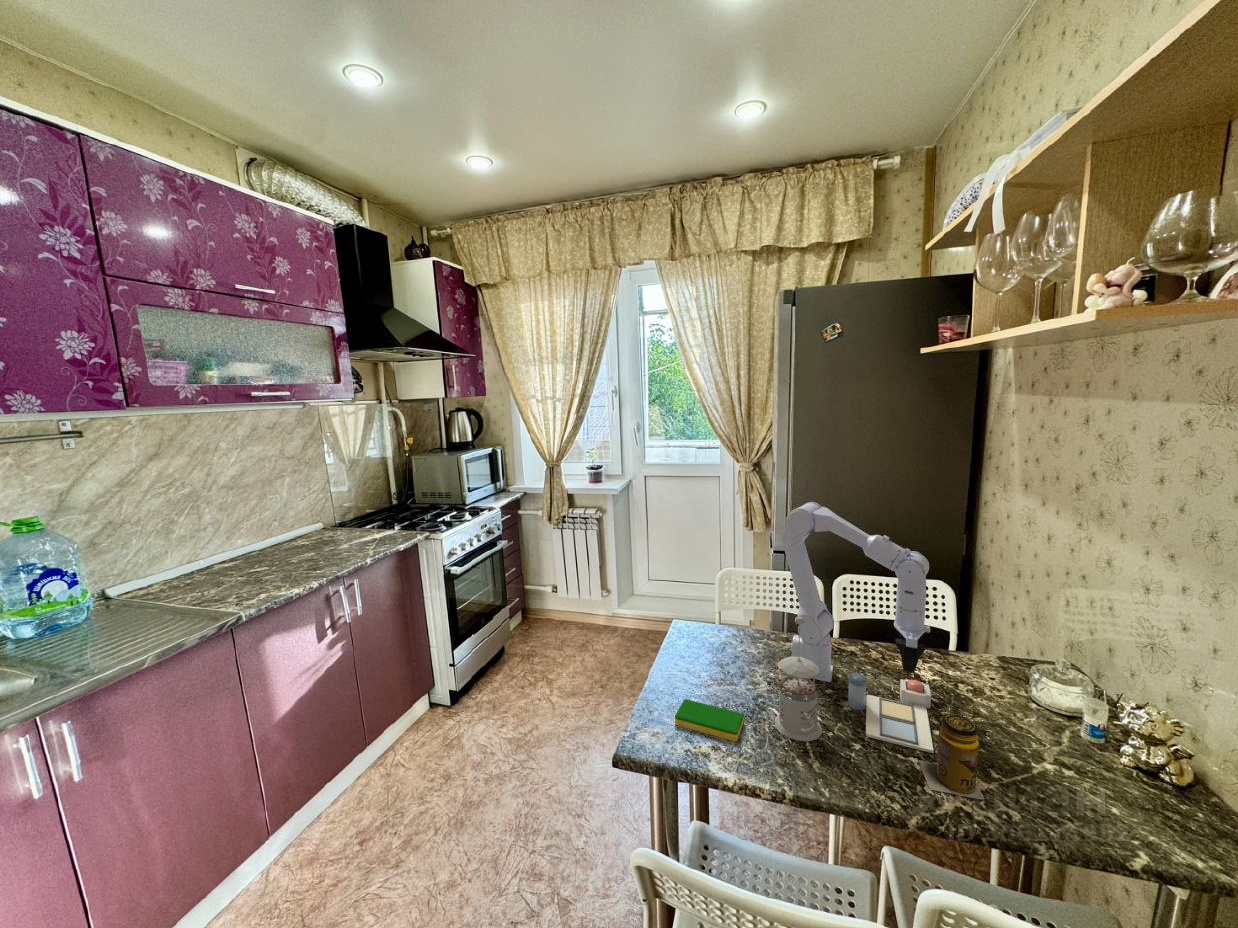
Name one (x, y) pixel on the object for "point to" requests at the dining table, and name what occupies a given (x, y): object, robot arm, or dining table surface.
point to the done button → (915, 686)
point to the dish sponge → (710, 719)
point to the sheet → (898, 723)
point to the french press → (798, 698)
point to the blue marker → (857, 691)
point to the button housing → (915, 695)
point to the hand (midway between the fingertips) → (907, 662)
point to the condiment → (955, 759)
